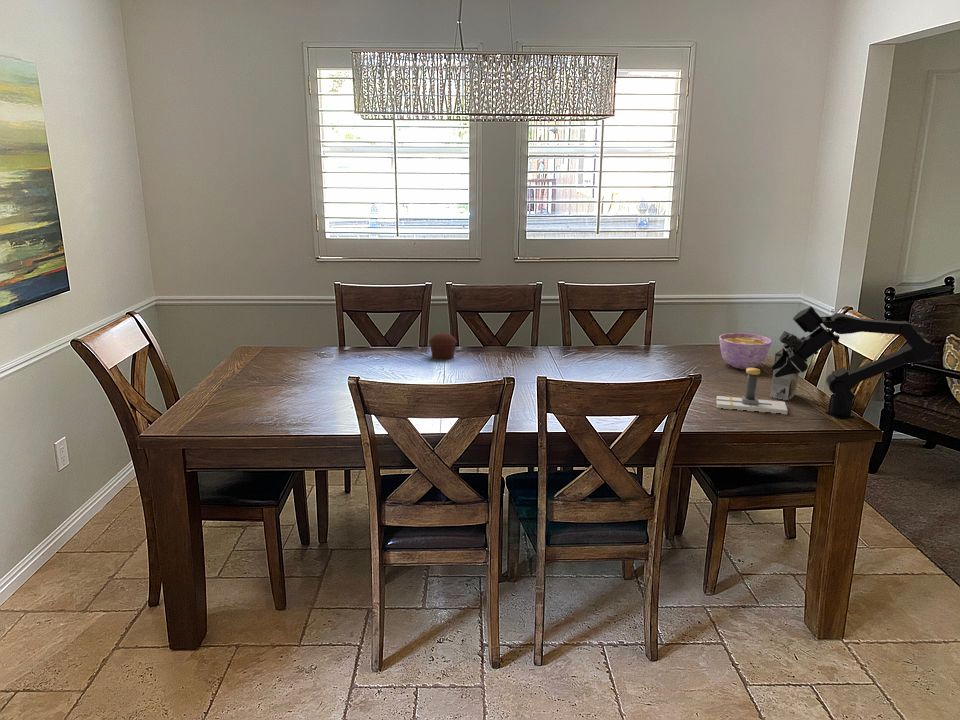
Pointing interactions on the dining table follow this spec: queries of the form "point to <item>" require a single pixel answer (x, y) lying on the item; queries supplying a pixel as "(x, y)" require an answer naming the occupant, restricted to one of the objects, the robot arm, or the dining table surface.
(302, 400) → the dining table surface
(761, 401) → the fader console
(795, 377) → the coffee box
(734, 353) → the bowl of food
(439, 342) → the muffin
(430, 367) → the dining table surface
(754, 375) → the lever
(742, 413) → the dining table surface
